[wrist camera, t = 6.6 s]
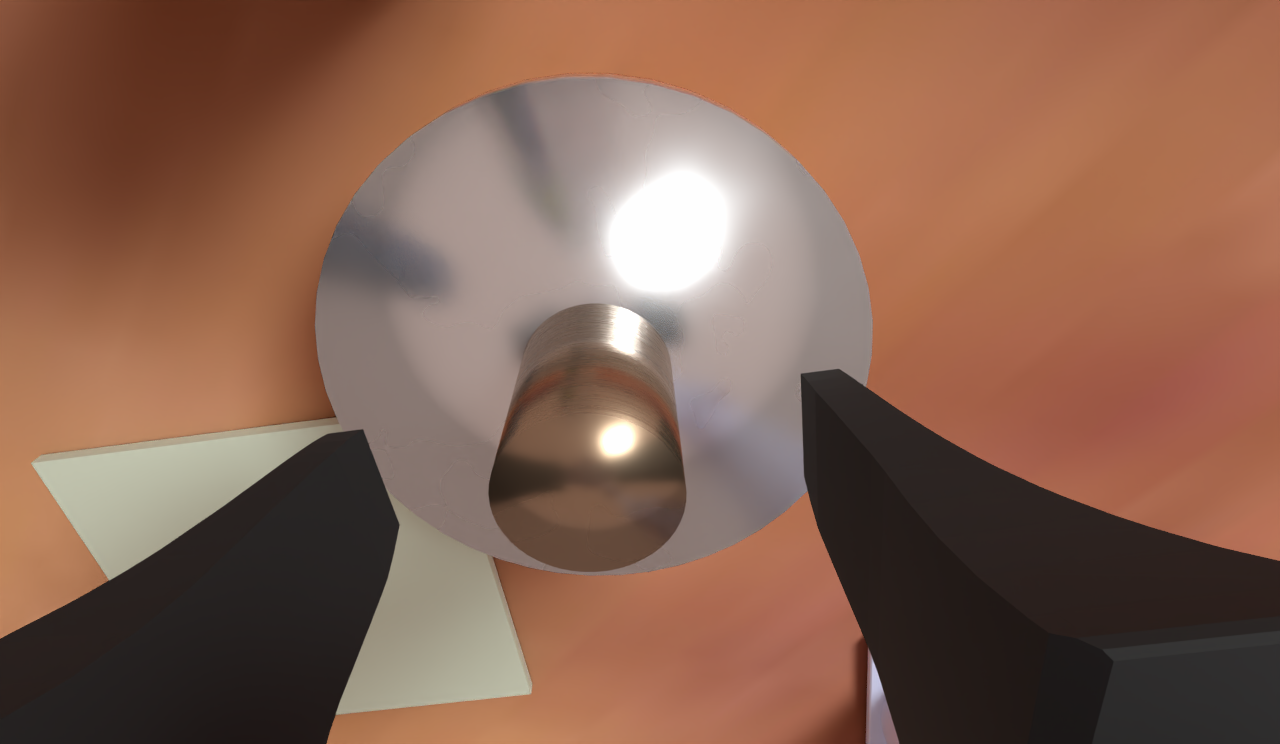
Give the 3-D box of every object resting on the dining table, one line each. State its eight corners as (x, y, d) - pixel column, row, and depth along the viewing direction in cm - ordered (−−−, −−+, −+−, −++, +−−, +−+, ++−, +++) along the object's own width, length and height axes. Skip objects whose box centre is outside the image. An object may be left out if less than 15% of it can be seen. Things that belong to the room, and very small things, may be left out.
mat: (532, 684, 26) (531, 693, 26) (213, 718, 27) (208, 728, 26) (444, 403, 20) (441, 410, 20) (40, 455, 21) (30, 463, 20)
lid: (842, 537, 18) (910, 712, 13) (399, 565, 18) (328, 746, 14) (885, 49, 12) (1019, 85, 8) (255, 96, 13) (68, 155, 8)
